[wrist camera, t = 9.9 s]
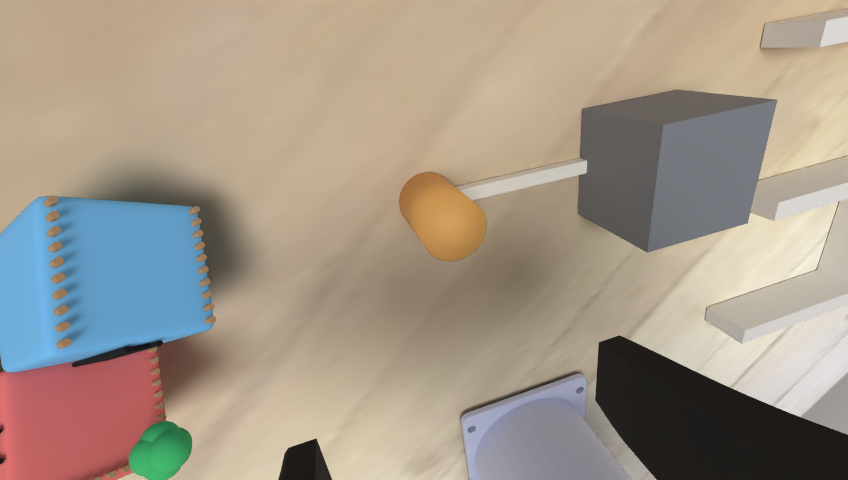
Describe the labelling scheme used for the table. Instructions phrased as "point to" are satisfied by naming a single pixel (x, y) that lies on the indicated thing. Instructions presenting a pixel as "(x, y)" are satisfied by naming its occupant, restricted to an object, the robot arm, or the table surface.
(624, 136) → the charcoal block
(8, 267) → the building blocks
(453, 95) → the table surface
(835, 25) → the lane rack
